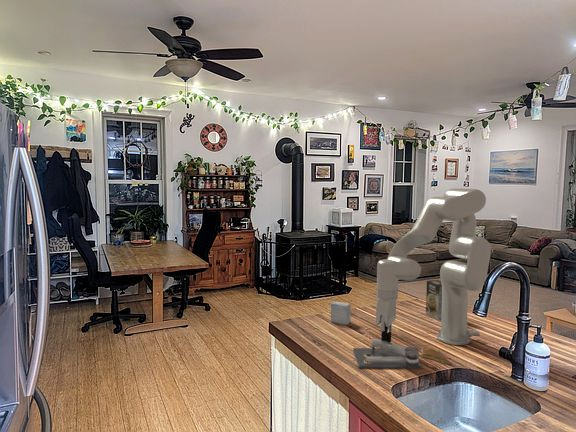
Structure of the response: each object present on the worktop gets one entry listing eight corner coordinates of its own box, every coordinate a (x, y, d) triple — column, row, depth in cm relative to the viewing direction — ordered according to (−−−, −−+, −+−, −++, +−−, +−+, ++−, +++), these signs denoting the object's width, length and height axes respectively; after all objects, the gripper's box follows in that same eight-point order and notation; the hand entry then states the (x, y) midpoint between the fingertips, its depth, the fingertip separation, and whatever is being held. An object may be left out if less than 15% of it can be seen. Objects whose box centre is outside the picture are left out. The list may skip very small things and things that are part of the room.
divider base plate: (409, 351, 151) (409, 344, 151) (421, 368, 137) (421, 360, 137) (353, 350, 151) (353, 343, 151) (358, 368, 137) (358, 360, 137)
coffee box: (425, 313, 193) (426, 280, 192) (436, 312, 195) (437, 279, 193) (437, 319, 184) (438, 285, 183) (449, 318, 186) (450, 284, 185)
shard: (450, 366, 139) (450, 361, 139) (428, 366, 139) (428, 361, 139) (438, 352, 150) (438, 348, 150) (417, 353, 150) (417, 348, 150)
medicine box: (350, 322, 182) (350, 303, 181) (346, 325, 178) (346, 306, 177) (334, 319, 186) (334, 300, 185) (330, 322, 182) (330, 303, 181)
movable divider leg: (420, 360, 139) (420, 349, 139) (415, 365, 136) (415, 353, 136) (374, 347, 151) (374, 336, 151) (368, 350, 148) (368, 339, 148)
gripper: (383, 287, 156) (382, 333, 158) (370, 297, 144) (369, 347, 145) (403, 290, 152) (402, 337, 154) (390, 300, 140) (389, 351, 141)
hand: (386, 342), depth 150 cm, fingers closed
